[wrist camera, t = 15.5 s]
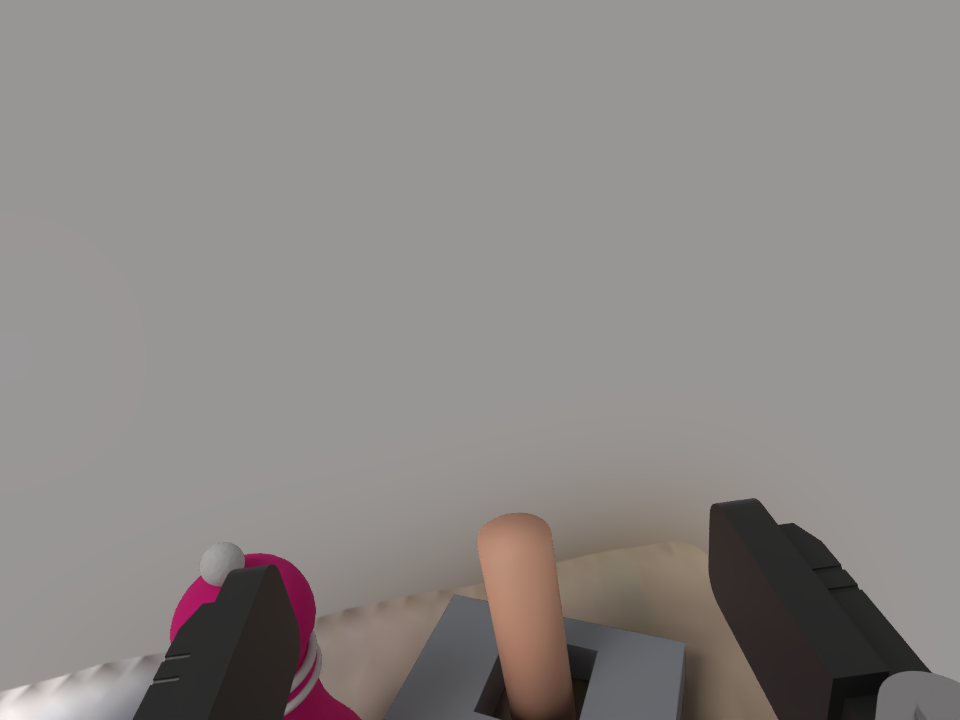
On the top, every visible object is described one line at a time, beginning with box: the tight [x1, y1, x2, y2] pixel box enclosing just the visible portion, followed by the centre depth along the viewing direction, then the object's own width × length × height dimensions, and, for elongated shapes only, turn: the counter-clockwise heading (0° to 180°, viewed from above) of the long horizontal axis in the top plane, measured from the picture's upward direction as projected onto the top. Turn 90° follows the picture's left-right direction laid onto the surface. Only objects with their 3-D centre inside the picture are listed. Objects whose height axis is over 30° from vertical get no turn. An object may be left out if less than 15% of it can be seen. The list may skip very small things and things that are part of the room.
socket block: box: [383, 594, 686, 720], centre depth 37 cm, size 16×10×3 cm, turn 67°
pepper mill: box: [170, 542, 361, 720], centre depth 29 cm, size 7×7×20 cm
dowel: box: [477, 513, 576, 720], centre depth 35 cm, size 4×4×14 cm
